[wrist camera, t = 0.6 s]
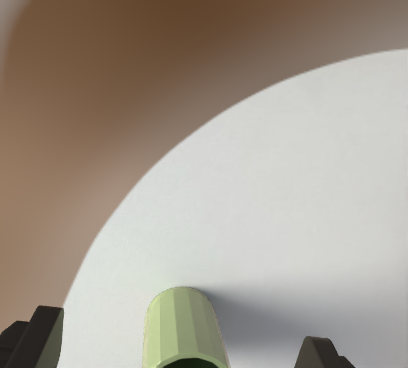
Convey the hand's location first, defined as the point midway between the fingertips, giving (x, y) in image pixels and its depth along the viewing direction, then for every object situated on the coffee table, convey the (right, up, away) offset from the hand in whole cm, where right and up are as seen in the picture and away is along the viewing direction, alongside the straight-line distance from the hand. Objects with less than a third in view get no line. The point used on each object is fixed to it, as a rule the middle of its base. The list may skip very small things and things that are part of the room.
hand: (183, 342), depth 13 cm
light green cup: (-1, -6, +20) cm, 22 cm away
